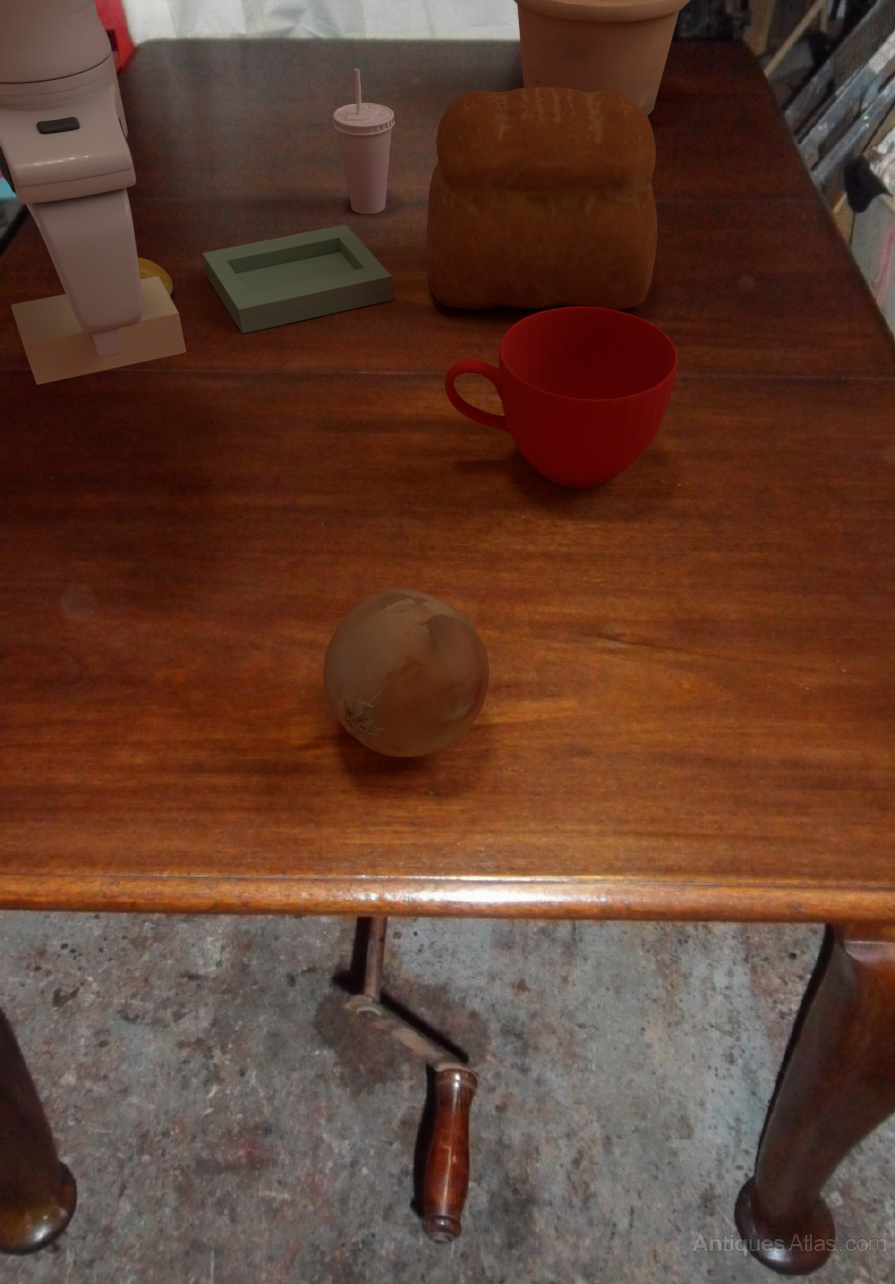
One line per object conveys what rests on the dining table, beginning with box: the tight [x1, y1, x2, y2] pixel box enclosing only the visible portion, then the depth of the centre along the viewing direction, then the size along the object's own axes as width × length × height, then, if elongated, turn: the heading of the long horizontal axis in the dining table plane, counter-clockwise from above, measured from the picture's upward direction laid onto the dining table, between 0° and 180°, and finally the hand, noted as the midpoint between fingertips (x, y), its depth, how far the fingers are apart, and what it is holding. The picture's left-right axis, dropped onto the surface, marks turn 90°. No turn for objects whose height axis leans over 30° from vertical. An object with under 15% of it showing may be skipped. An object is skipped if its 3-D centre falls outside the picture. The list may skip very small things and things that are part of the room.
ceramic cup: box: [444, 306, 679, 489], centre depth 81 cm, size 13×17×10 cm
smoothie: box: [332, 68, 396, 215], centre depth 111 cm, size 6×6×14 cm
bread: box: [426, 87, 658, 311], centre depth 99 cm, size 18×22×17 cm
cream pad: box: [10, 276, 187, 386], centre depth 72 cm, size 10×6×3 cm, turn 114°
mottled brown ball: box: [322, 587, 490, 758], centre depth 62 cm, size 10×10×10 cm
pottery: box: [513, 0, 691, 117], centre depth 132 cm, size 22×22×14 cm
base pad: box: [202, 224, 393, 335], centre depth 103 cm, size 15×12×2 cm
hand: (98, 325), depth 72 cm, fingers closed on cream pad, 5 cm apart
